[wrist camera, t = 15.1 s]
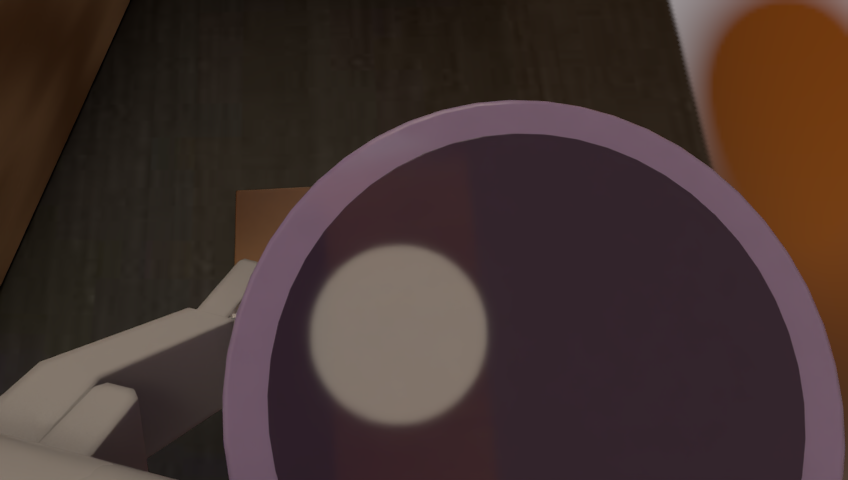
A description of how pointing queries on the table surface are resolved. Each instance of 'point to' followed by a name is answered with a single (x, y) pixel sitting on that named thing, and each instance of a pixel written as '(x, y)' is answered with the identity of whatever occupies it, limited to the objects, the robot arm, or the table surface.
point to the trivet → (261, 218)
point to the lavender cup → (528, 316)
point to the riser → (43, 95)
